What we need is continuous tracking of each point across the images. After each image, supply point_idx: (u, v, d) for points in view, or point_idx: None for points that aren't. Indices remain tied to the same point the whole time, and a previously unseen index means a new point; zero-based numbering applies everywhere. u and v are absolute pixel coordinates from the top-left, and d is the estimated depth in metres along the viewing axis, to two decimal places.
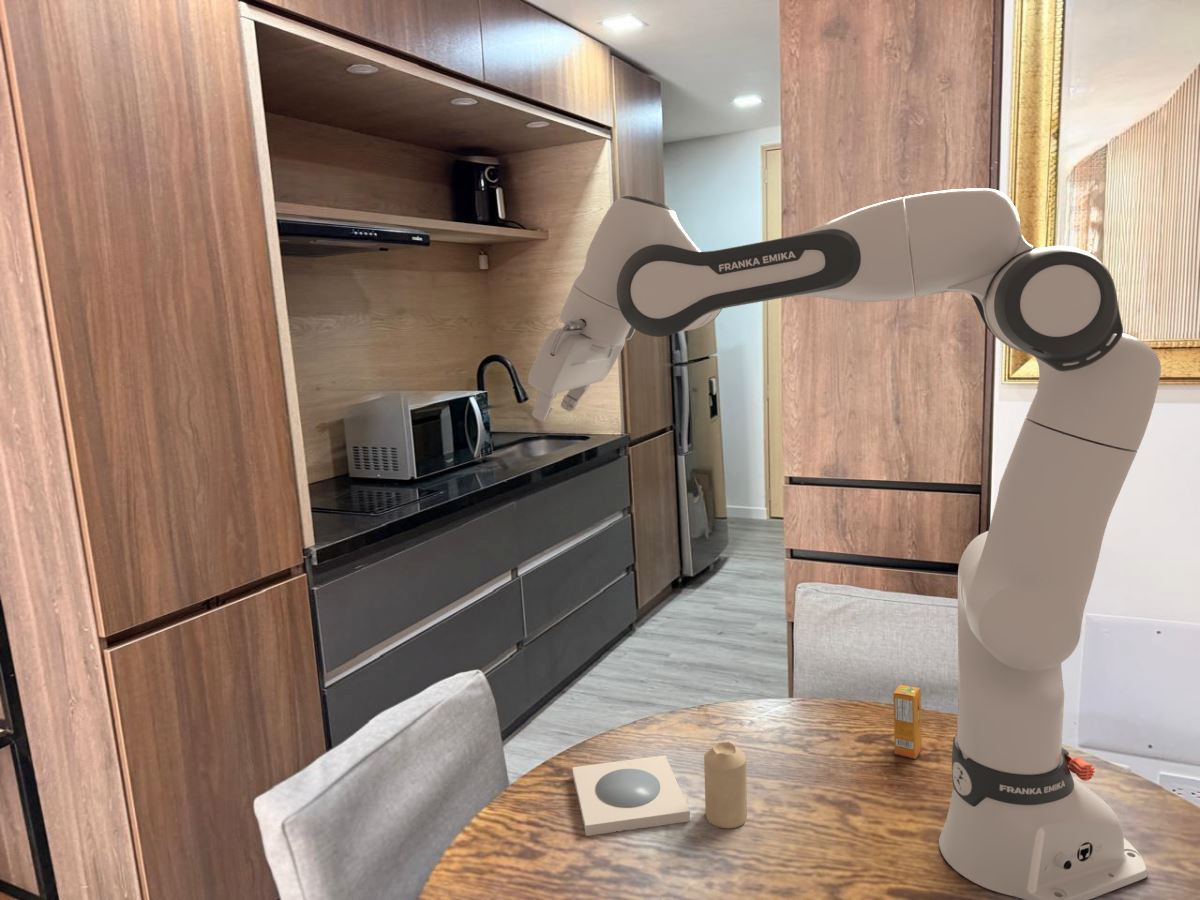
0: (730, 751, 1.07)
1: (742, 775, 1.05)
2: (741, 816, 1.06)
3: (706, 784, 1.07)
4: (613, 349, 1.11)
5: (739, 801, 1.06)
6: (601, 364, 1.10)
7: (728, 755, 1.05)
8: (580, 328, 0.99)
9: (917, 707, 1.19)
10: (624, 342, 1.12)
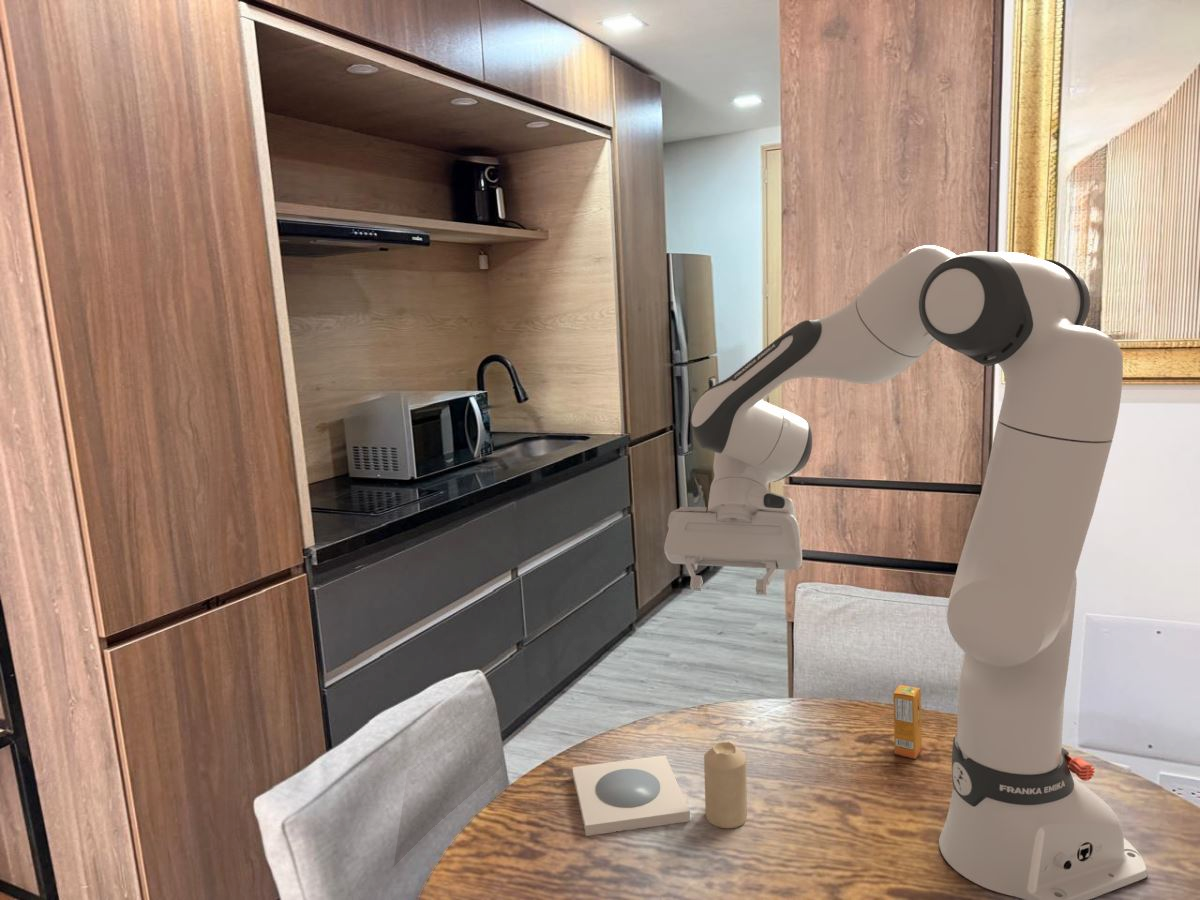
0: (730, 751, 1.07)
1: (742, 775, 1.05)
2: (741, 816, 1.06)
3: (706, 784, 1.07)
4: (781, 526, 1.18)
5: (739, 801, 1.06)
6: (764, 538, 1.18)
7: (728, 755, 1.05)
8: (700, 510, 1.25)
9: (917, 707, 1.19)
10: (790, 516, 1.18)
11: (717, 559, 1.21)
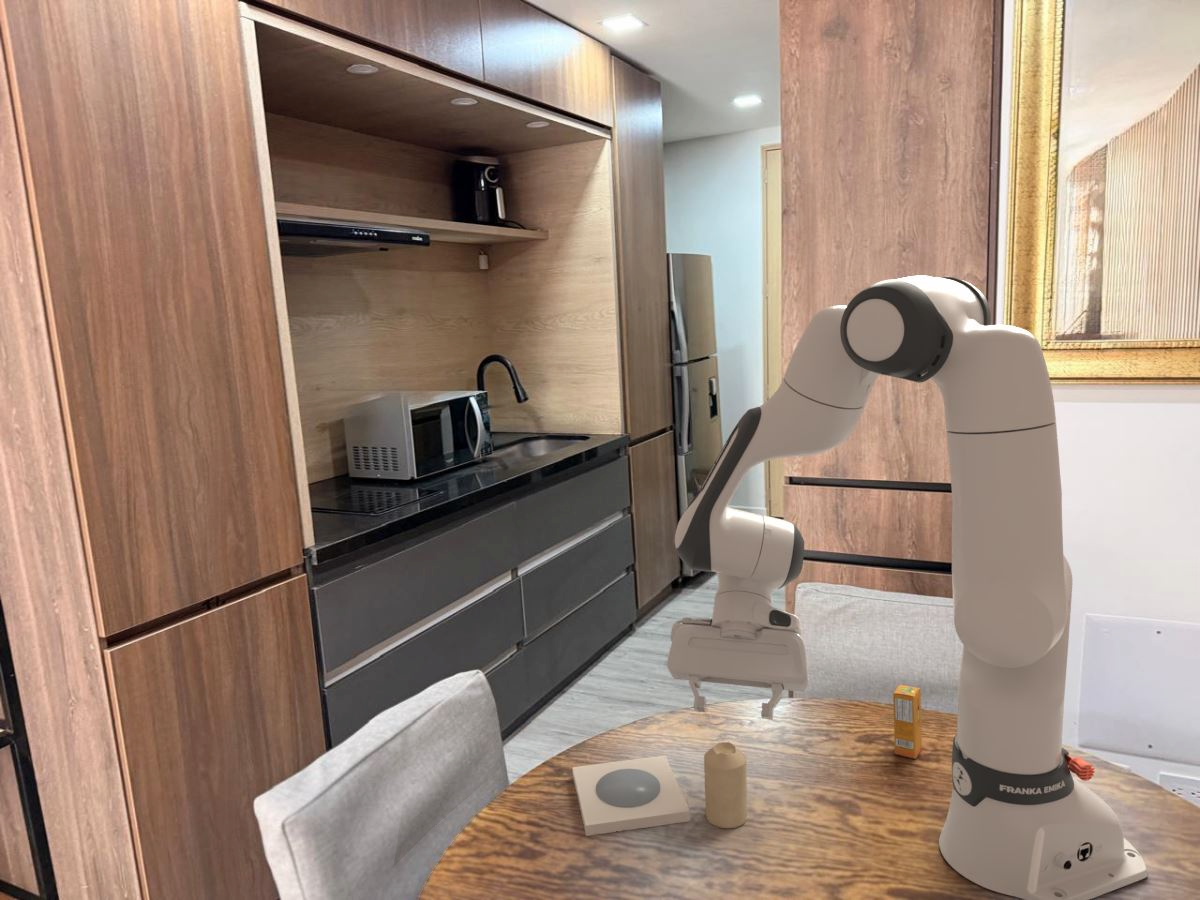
0: (730, 751, 1.07)
1: (742, 775, 1.05)
2: (741, 816, 1.06)
3: (706, 784, 1.07)
4: (788, 645, 1.15)
5: (739, 801, 1.06)
6: (770, 658, 1.15)
7: (728, 755, 1.05)
8: (704, 623, 1.22)
9: (917, 707, 1.19)
10: (796, 635, 1.15)
11: None
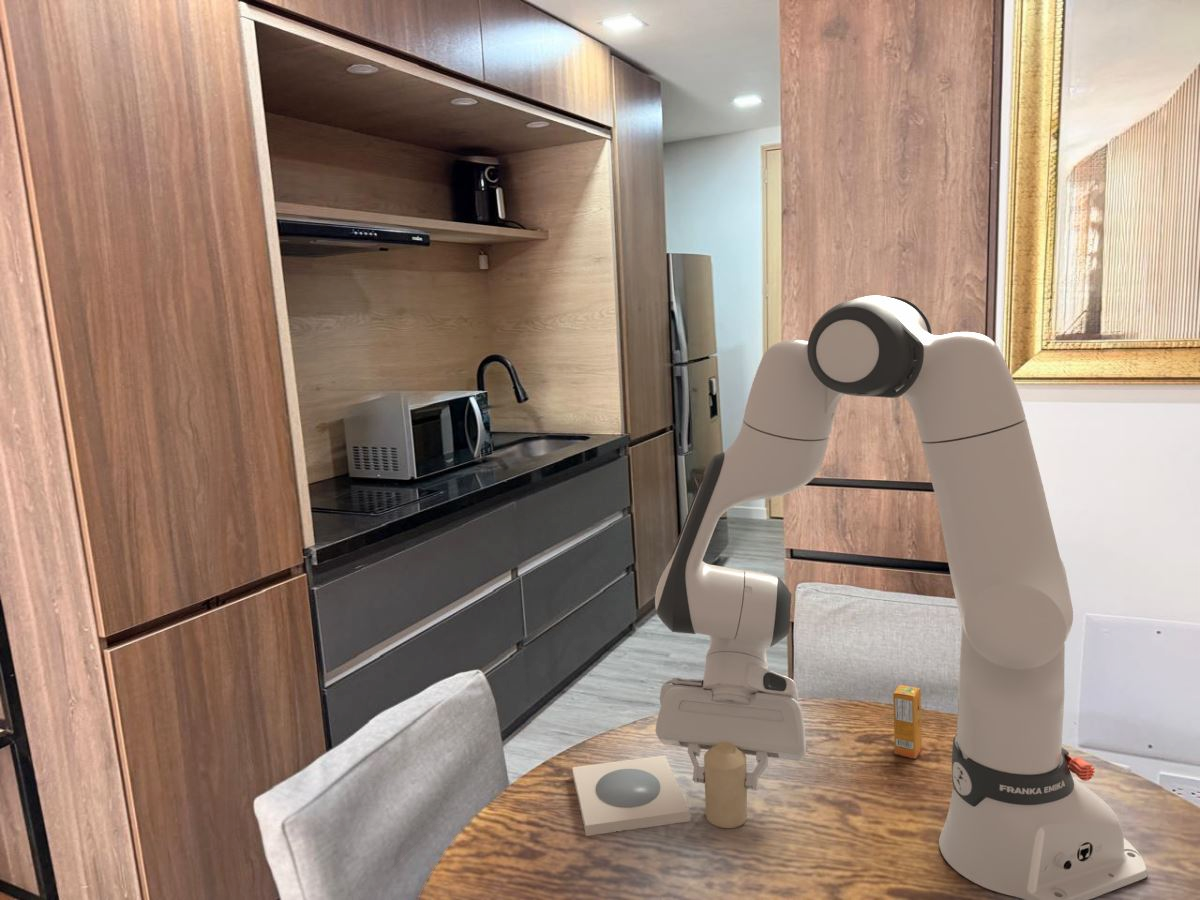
0: (730, 751, 1.07)
1: (742, 775, 1.05)
2: (741, 816, 1.06)
3: (706, 784, 1.07)
4: (783, 711, 1.09)
5: (739, 801, 1.06)
6: (764, 725, 1.08)
7: (728, 755, 1.05)
8: (694, 684, 1.15)
9: (917, 707, 1.19)
10: (792, 700, 1.09)
11: None
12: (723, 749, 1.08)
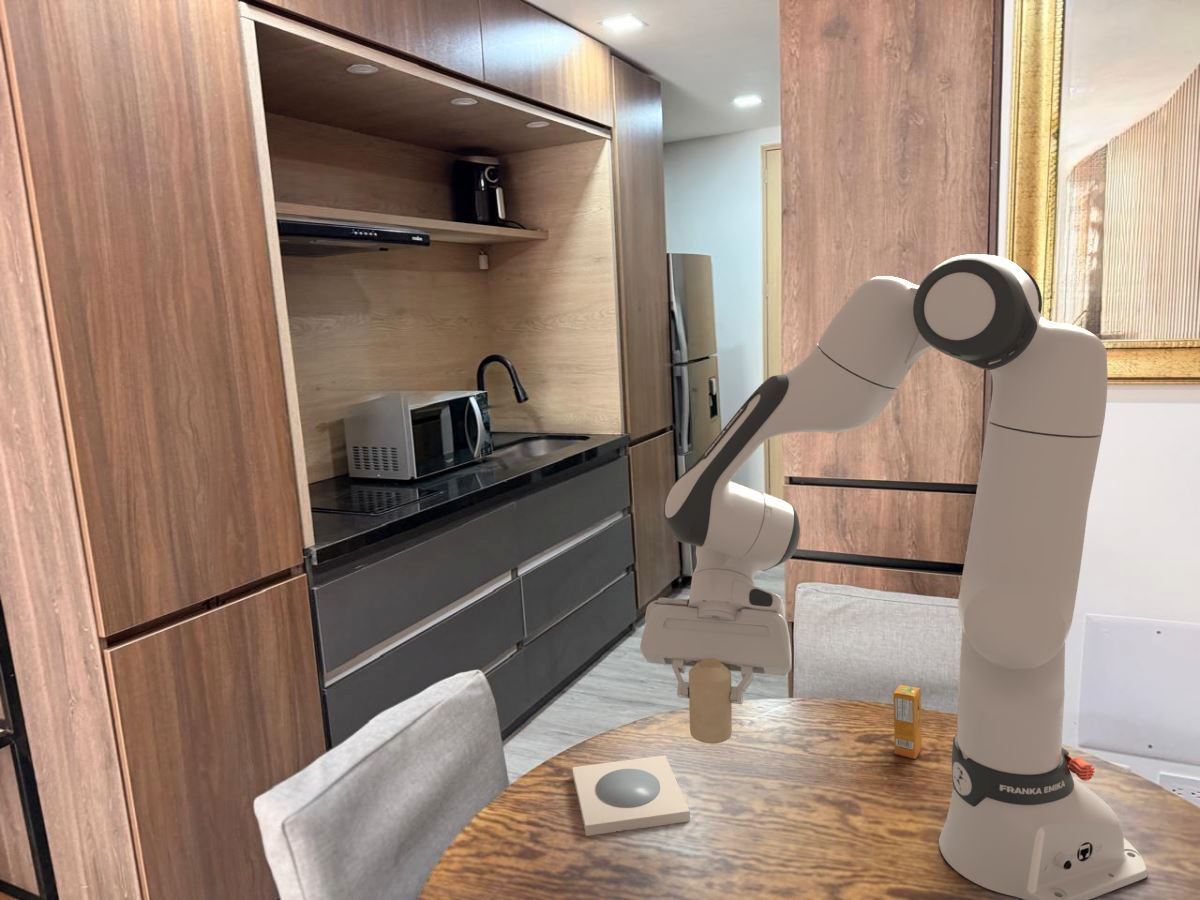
0: (715, 667, 1.06)
1: (726, 689, 1.04)
2: (725, 731, 1.05)
3: (690, 699, 1.06)
4: (769, 627, 1.08)
5: (724, 716, 1.04)
6: (750, 640, 1.07)
7: (713, 669, 1.04)
8: (680, 603, 1.14)
9: (917, 707, 1.19)
10: (778, 616, 1.07)
11: (698, 660, 1.10)
12: (708, 665, 1.06)
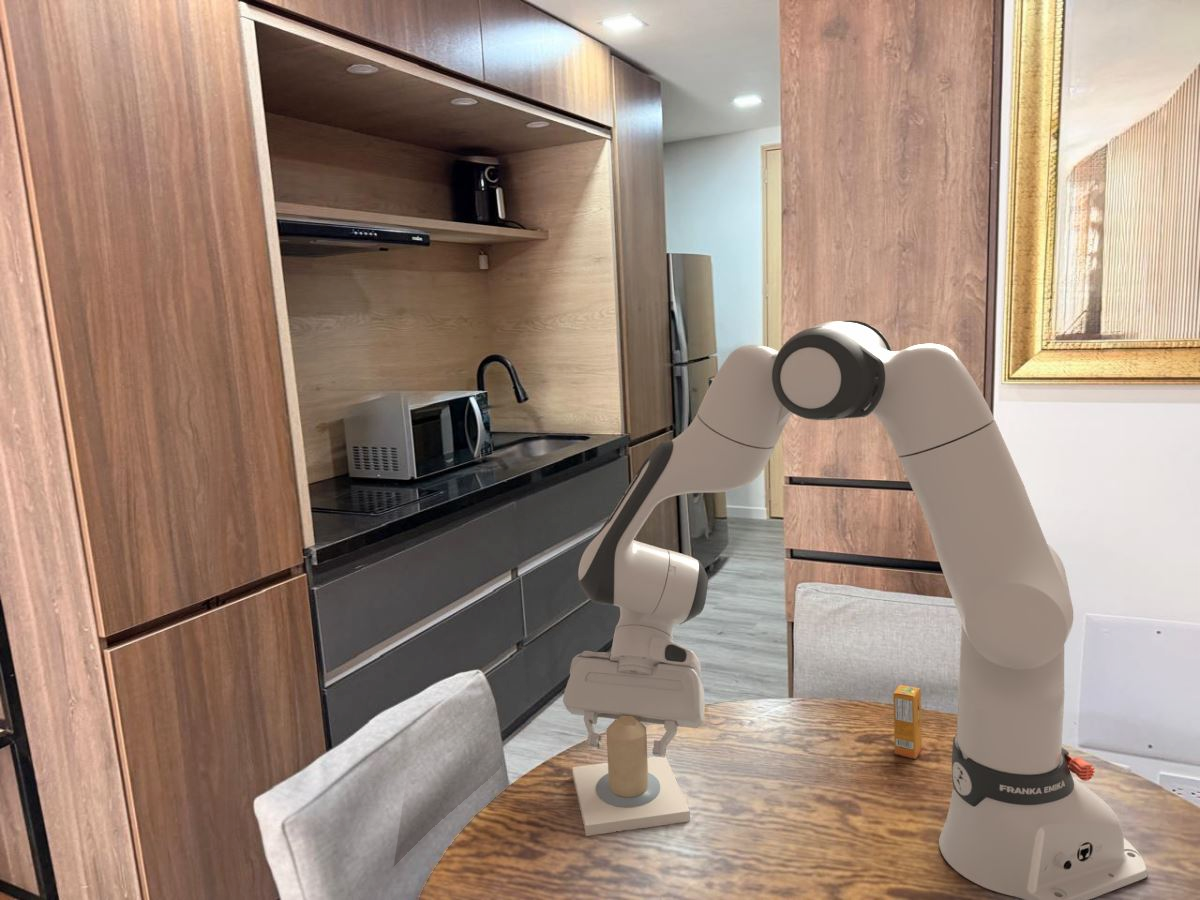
0: (631, 724, 1.12)
1: (640, 746, 1.10)
2: (641, 786, 1.11)
3: (608, 755, 1.12)
4: (682, 681, 1.13)
5: (639, 771, 1.10)
6: (664, 694, 1.13)
7: (627, 727, 1.10)
8: (603, 657, 1.20)
9: (917, 707, 1.19)
10: (691, 671, 1.13)
11: None
12: (625, 722, 1.12)
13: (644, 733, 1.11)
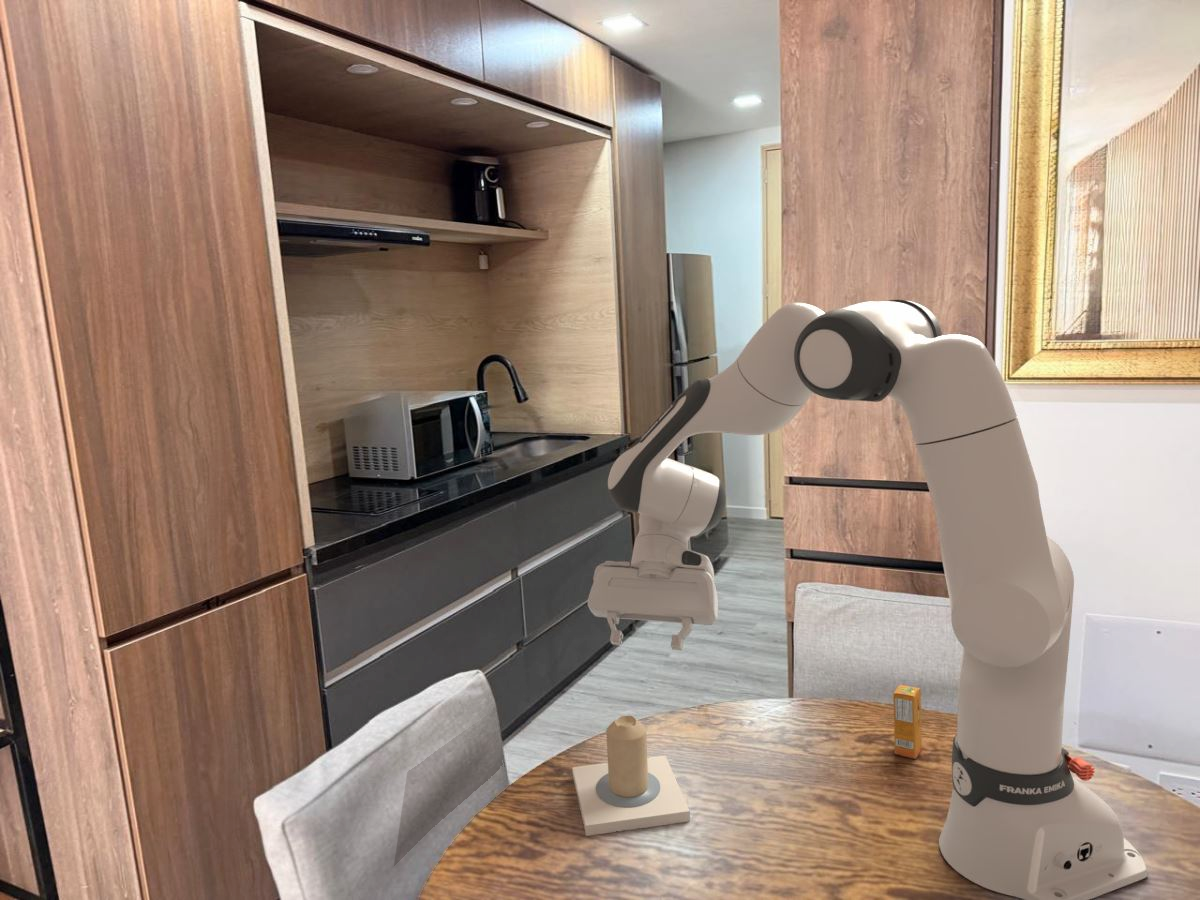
0: (631, 724, 1.12)
1: (640, 746, 1.10)
2: (641, 786, 1.11)
3: (608, 755, 1.12)
4: (698, 583, 1.24)
5: (638, 771, 1.10)
6: (681, 594, 1.24)
7: (627, 727, 1.10)
8: (624, 565, 1.30)
9: (917, 707, 1.19)
10: (705, 573, 1.24)
11: (638, 613, 1.26)
12: (625, 722, 1.12)
13: (644, 733, 1.11)
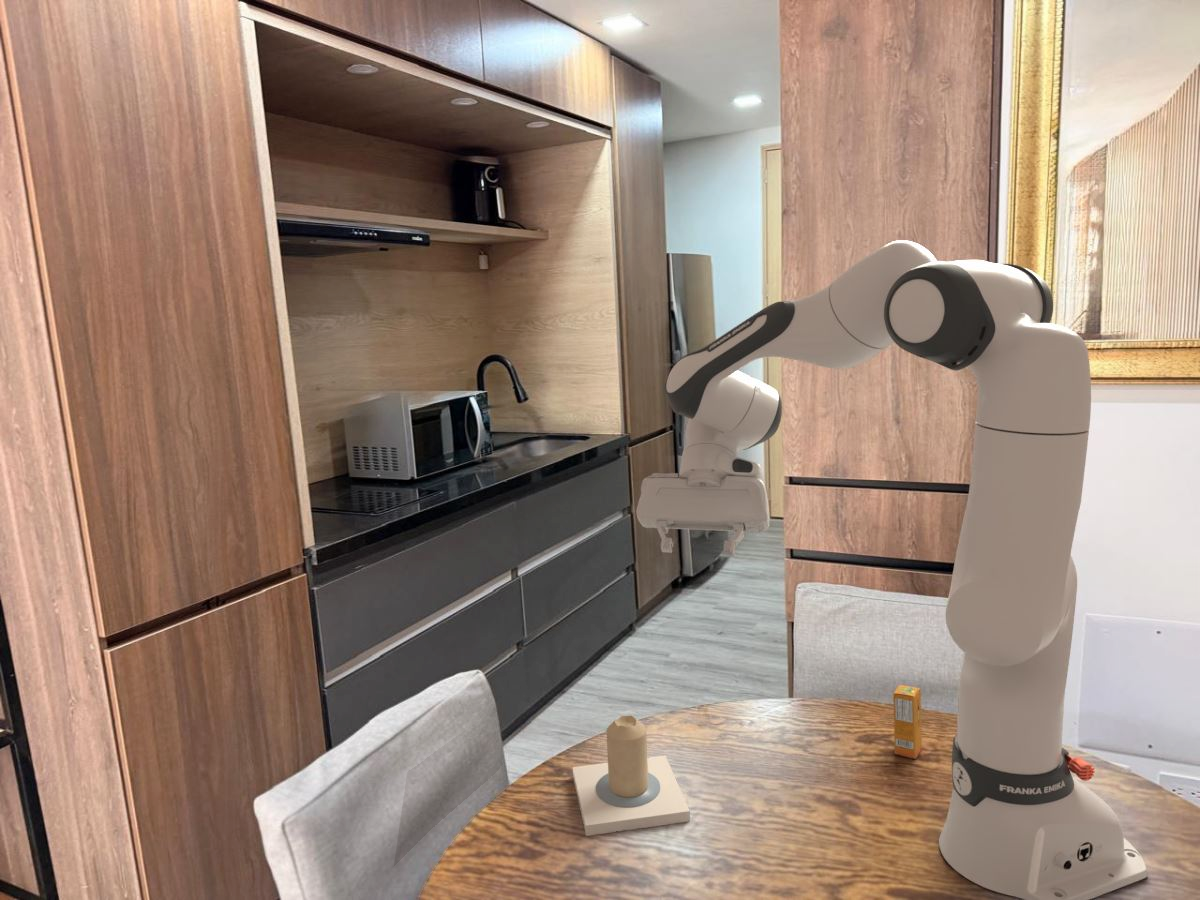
0: (631, 724, 1.12)
1: (640, 746, 1.10)
2: (641, 786, 1.11)
3: (608, 755, 1.12)
4: (749, 490, 1.22)
5: (639, 771, 1.10)
6: (732, 501, 1.22)
7: (627, 727, 1.10)
8: (672, 476, 1.29)
9: (917, 707, 1.19)
10: (757, 480, 1.22)
11: (687, 522, 1.25)
12: (625, 722, 1.12)
13: (644, 733, 1.11)
